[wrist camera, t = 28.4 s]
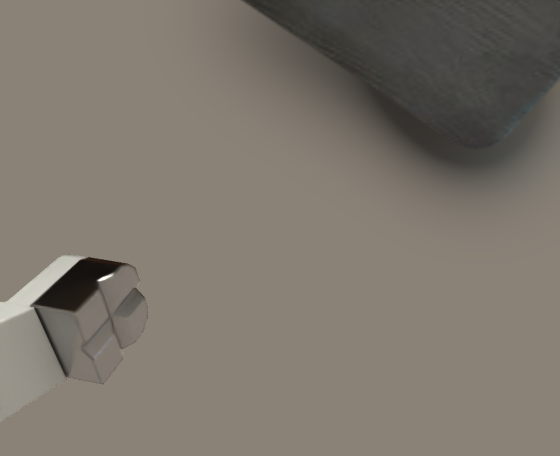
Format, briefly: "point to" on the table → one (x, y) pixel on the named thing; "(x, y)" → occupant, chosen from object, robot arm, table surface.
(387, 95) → the table surface
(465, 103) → the table surface
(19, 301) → the robot arm
